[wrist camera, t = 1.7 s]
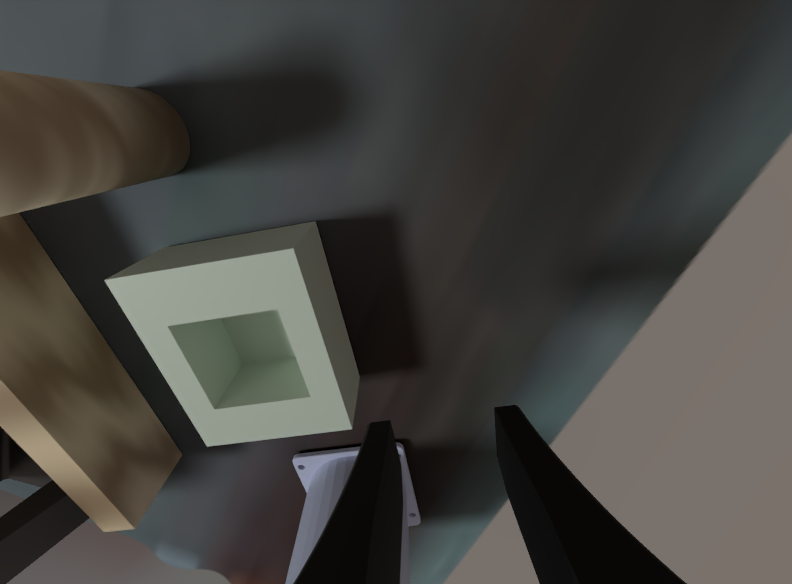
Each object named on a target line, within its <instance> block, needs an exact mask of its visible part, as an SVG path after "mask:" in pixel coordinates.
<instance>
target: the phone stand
mask: <svg viewBox="0 0 792 584" xmlns="http://www.w3.org/2000/svg"><path fill="white" fill-rule="evenodd" d="M4 479H13V480H17V481H21V482H24V483H28V484H32V485H35V486H39V487H42V488H40V489H39V490H38V491H36V492H35V493H34V494H32V495H31V496H29V497H28V498H27V499H25V500H24V501H23V502H21V503H20V504H18V505H17V506H16V507H14V508H13V509H11V510H10V511H9V512H7V513H6V514H5V515H3V516H2V517H1V518H0V584H6V583H7V582H9V581H10V580H11V579H12V578H14V577H15V576H16V575H18V574H19V573H20V572H21V571H23V570H24V569H25V568H26V567H27V566H29V565H30V564H31V563H33V562H34V561H35V560H37V559H38V558H39V557H40V556H42V555H43V554H44V553H45V552H47V551H48V550H49V549H50V548H52V547H53V546H54V545H56V544H57V543H58V542H59V541H61V540H62V539H63V538H64V537H66V536H67V535H68V534H70V533H71V532H72V531H73V530H75V529H76V528H77V527H78V526H80V525H81V524H82V523H84V522H85V521H86V520H87V519H89V518H90V517H89V516H88V515H87V514H86V513H85V512H84V511H83V510H82V509H81V508H80V507H79V506H78V505H77V504H76V503H75V502H74V501H73V500H72V499H71V498H70V497H69V496H68V495H67V494H66V493H65V492H64V491H63V490H62V489H61V488H60V487H59V486H58V484H57V483H56V482H55V481H54V480H53V479H52V478H51V477H50V476H49V475H48V474H47V473H46V472H45V471H44V470H43V469H42V468H41V467H40V466H39V465H38V464H37V463H36V462H35V461H34V460H33V459H32V458H31V457H30V456H29V455H28V454H27V453H26V452H25V451H24V450H23V449H22V448H21V447H20V446H19V445H18V444H17V443H16V442H15V441H14V440H13V439H12V438H11V437H10V436H9V434H8V433H7V432H6V431H5V430H4V429H3V428H2V427H1V426H0V481H2V480H4Z"/></svg>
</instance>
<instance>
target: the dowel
mask: <svg viewBox="0 0 792 584" xmlns="http://www.w3.org/2000/svg"><path fill="white" fill-rule="evenodd" d="M189 155H190V138H189V133H188V130H187V128H186V125H185V123H184V121H183V120H182V118H181V116H180V115H179V113H178V112H177V111H176V110H175V108H174V107H173V106H172V105H171V104H170V103H169V102H167V101H166V100H165V99H164V98H162V97H161V96H159V95H157V94H156V93H153V92H151V91H148V90H145V89H140V88H133V87H125V86H117V85H110V84H102V83H94V82H86V81H79V80H71V79H63V78H55V77H48V76H40V75H32V74H24V73H17V72H9V71H1V70H0V217H2V216H6V215H11V214H15V213H19V212H23V211H27V210H31V209H35V208H40V207H44V206H48V205H52V204H56V203H60V202H65V201H69V200H73V199H77V198H81V197H85V196H90V195H94V194H98V193H102V192H106V191H110V190H114V189H119V188H123V187H127V186H131V185H135V184H139V183H144V182H148V181H152V180H156V179H160V178H164V177H168V176H172V175H174V174H176V173H178V172H179V171H181V170H182V169H183V168H184V166H185V165H186V163H187V161H188V159H189Z"/></svg>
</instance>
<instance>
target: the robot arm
mask: <svg viewBox="0 0 792 584" xmlns="http://www.w3.org/2000/svg"><path fill="white" fill-rule="evenodd" d="M494 411H495V428H496V446H497V456H498V460H499V464H500V468H501V472H502V476H503V480H504V484H505V487H506V491H507V494H508V497H509V500H510V503H511V505H512V508H513V511H514V514H515V516H516V519H517V522H518V525H519V528H520V530H521V533H522V536H523V539H524V541H525V544H526V547H527V550H528V552H529V555H530V558H531V560H532V563H533V566H534V569H535V571H536V574H537V577H538V580H539V583H540V584H686V583H685V582H684V581H683V580H682V579H680V578H679V577H678V576H677V575H676V574H675V573H674V572H672V571H671V570H670V569H669V568H668V567H667V566H666V565H665V564H663V563H662V562H661V561H660V560H659V559H658V558H657V557H656V556H655V555H653V554H652V553H651V552H650V551H649V550H648V549H647V548H646V547H645V546H644V545H643V544H642V543H640V542H639V541H638V540H637V539H636V538H635V537H634V536H633V535H632V534H631V533H630V532H628V530H627V529H626V528H625V527H624V526H622V525H621V524H620V523H619V522H618V521H617V520H616V519H615V518H614V517H613V516H612V515H611V514H610V513H609V512H608V511H607V510H606V509H605V508H604V507H603V506H602V505H601V504H600V502H598V500H597V499H596V498H595V497H594V496H593V495H592V494H591V493H590V492H589V491H588V490H587V489H586V488H585V487H584V486H583V485H582V484H581V482H580V481H579V480H578V479H577V478H576V477H575V476H574V475H573V474H572V473H571V471H570V470H569V469H568V468H567V467H566V466H565V465H564V464H563V462H562V461H561V460H560V459H559V458H558V457H557V455H556V454H555V453H554V452H553V451H552V450H551V448H550V447H549V446H548V445H547V443H546V442H545V441H544V440H543V439H542V437H541V436H540V435H539V434H538V432H537V431H536V430H535V428H534V427H533V426H532V425H531V423H530V422H529V421H528V419H527V418H526V416H525V415H524V414H523V412H522V411H521V409H520V408H519V407H518V406H516V405H511V406H503V407H495V408H494ZM293 465H294V467H295V469H296V471H297V473H298V475H299V477H300V480H301V482H302V484H303V486H304V488H305V490H306V492H307V496H306V500H305V505H304V509H303V513H302V517H301V521H300V525H299V529H298V534H297V538H296V542H295V546H294V550H293V554H292V558H291V562H290V567H289V571H288V575H287V579H286V583H285V584H410V567H409V531H408V526H416V525H418V524H420V514H419V510H418V506H417V501H416V497H415V493H414V489H413V485H412V480H411V476H410V472H409V468H408V463H407V459H406V455H405V451H404V447H403V445H402V444H401V443H398V442H396V441H395V437H394V433H393V429H392V425H391V421H390V420H389V421H380V422H372V423H370V424H369V425H368V426H367V429H366V432H365V435H364V438H363V441H362V444H361V446H360V447H351V448H343V449H334V450H326V451H317V452H308V453H300V454H296V455H295V456H294V458H293Z"/></svg>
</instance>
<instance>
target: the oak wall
mask: <svg viewBox="0 0 792 584" xmlns="http://www.w3.org/2000/svg"><path fill="white" fill-rule="evenodd" d="M0 426H1V427H2V428H3V429H4V430H5V431H6V432H7V433H8V434H9V436H10V437H11V438H12V439H13V440H14V441H15V442H16V443H17V444H18V445H19V446H20V447H21V448H22V449H23V450H24V451H25V452H26V453H27V454H28V455H29V456H30V457H31V458H32V459H33V460H34V461H35V462H36V463H37V464H38V465H39V466H40V467H41V468H42V469H43V470H44V471H45V472H46V473H47V474H48V475H49V476H50V477H51V478H52V479H53V480H54V481H55V482H56V483H57V484H58V486H59V487H60V488H61V489H62V490H63V491H64V492H65V493H66V494H67V495H68V496H69V497H70V498H71V499H72V500H73V501H74V502H75V503H76V504H77V505H78V506H79V507H80V508H81V509H82V510H83V511H84V512H85V513H86V514H87V515H88V516H89V517H90V518H91V519H92V520H93V521H94V522H95V523H96V524H97V525H98V526H99V527H100V528H101V529H102V530H103V531H104V532H109V531H119V530H129V529H135V528H136V526H137V525H138V523H139V522H140V520H141V519H142V517H143V516H144V514H145V512H146V511H147V509H148V508H149V506H150V505H151V503H152V502H153V500H154V499H155V497H156V495H157V494H158V492H159V491H160V489H161V488H162V486H163V485H164V483H165V481H166V480H167V478H168V477H169V475H170V474H171V472H172V471H173V469H174V468H175V466H176V464H177V463H178V461H179V460H180V458H181V457H182V455H183V454H182V453H181V451H180V450H179V449H178V447H177V446H176V444H175V443H174V441H173V440H172V438H171V437H170V435H169V434H168V432H167V431H166V429H165V428H164V426H163V425H162V423H161V422H160V420H159V419H158V417H157V416H156V414H155V413H154V412H153V410H152V409H151V407H150V406H149V404H148V403H147V401H146V400H145V398H144V397H143V395H142V394H141V392H140V391H139V389H138V388H137V386H136V385H135V383H134V382H133V380H132V379H131V378H130V376H129V375H128V373H127V372H126V370H125V369H124V367H123V366H122V364H121V363H120V361H119V360H118V358H117V357H116V355H115V354H114V352H113V351H112V349H111V348H110V346H109V345H108V343H107V342H106V341H105V339H104V338H103V336H102V335H101V333H100V332H99V330H98V329H97V327H96V326H95V324H94V323H93V321H92V320H91V318H90V317H89V315H88V314H87V312H86V311H85V309H84V308H83V307H82V305H81V304H80V302H79V301H78V299H77V298H76V296H75V295H74V293H73V292H72V290H71V289H70V287H69V286H68V284H67V283H66V281H65V280H64V278H63V277H62V275H61V274H60V272H59V271H58V270H57V268H56V267H55V265H54V264H53V262H52V261H51V259H50V258H49V256H48V255H47V253H46V252H45V250H44V249H43V247H42V246H41V244H40V243H39V241H38V240H37V238H36V237H35V236H34V234H33V233H32V231H31V230H30V228H29V227H28V225H27V224H26V222H25V221H24V219H23V218H22V216H21V215H20V213H15V214H11V215H6V216H2V217H0Z"/></svg>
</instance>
